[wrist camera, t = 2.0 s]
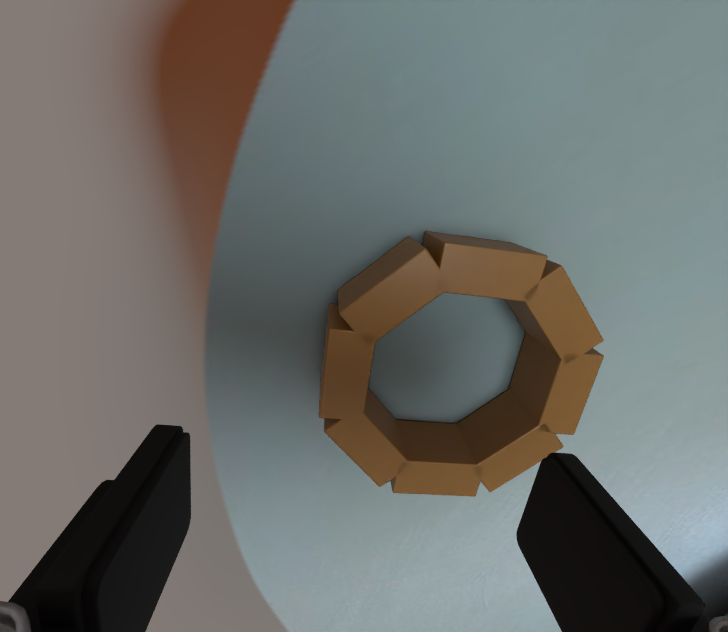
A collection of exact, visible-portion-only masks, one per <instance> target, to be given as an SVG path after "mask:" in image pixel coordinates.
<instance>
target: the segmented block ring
mask: <svg viewBox="0 0 728 632" xmlns="http://www.w3.org/2000/svg"><path fill="white" fill-rule="evenodd" d="M443 292H446V293H454V294H463V295H472V296H481V297H490V298H498V299H505V300H506V302H507V303H508V305H509V307H510V308H511V310H512V311H513V313H514V314H515V316H516V317H517V319H518V320H519V322H520V324H521V325H522V327H523V328H524V330H525V331H526V334H525V337H524V341H523V344H522V347H521V350H520V354H519V357H518V360H517V364H516V367H515V370H514V374H513V377H512V380H511V384H510V387H509V390H507V391H506V392H504V393H503V394H501V395H500V396H498V397H497V398H495V399H494V400H492V401H491V402H489V403H488V404H486V405H485V406H483V407H481V408H480V409H478V410H477V411H475V412H474V413H472V414H471V415H469V416H468V417H466V418H465V419H463V420H462V421H460V422H459V423H457V424H448V423H433V422H419V421H404V420H396V419H395V418H394V417H393V416H392V415H391V413H390V412H389V411H388V410H387V409H386V408H385V407H384V406H383V404H382V403H381V402H380V401H379V400H378V399H377V398H376V397H375V395H374V394H373V393H372V392H371V391H370V390H369V389H368V384H369V378H370V372H371V366H372V360H373V354H374V347H375V342H376V341H377V340H378V339H380V338H381V337H382V336H384V335H385V334H387V333H388V332H389V331H391V330H392V329H393V328H395V327H396V326H398V325H399V324H400V323H402V322H403V321H405V320H406V319H407V318H409V317H410V316H411V315H413V314H414V313H416V312H417V311H418V310H420V309H421V308H422V307H424V306H425V305H427V304H428V303H429V302H431V301H432V300H434V299H435V298H436V297H438V296H439V295H440V294H442V293H443ZM602 341H603V338H602V336H601V334H600V333H599V331H598V329H597V327H596V326H595V324H594V322H593V320H592V318H591V317H590V315H589V313H588V311H587V309H586V308H585V306H584V304H583V302H582V301H581V299H580V297H579V295H578V293H577V292H576V290H575V288H574V286H573V284H572V283H571V281H570V279H569V277H568V275H567V274H566V272H565V270H564V268H563V267H562V265H559V264H557V263H554V262H551V261H549V260H547V255H544V254H541V253H538V252H536V251H533V250H530V249H527V248H525V247H522V246H519V245H516V244H514V243H511V242H504V241H496V240H489V239H481V238H474V237H466V236H459V235H451V234H444V233H436V232H429V231H425V234H424V239H423V244H422V245H421V244H419V243H418V242H417V241H415V240H414V239H413V238H411V237H410V236H409V237H407V238H406V239H404V240H403V241H402V242H400V243H399V244H398V245H396V246H395V247H394V248H392V249H391V250H390V251H388V252H387V253H386V254H385V255H383V256H382V257H381V258H379V259H378V260H377V261H375V262H374V263H373V264H371V265H370V266H369V267H367V268H366V269H365V270H364V271H362V272H361V273H360V274H358V275H357V276H356V277H354V278H353V279H352V280H350V281H349V282H348V283H347V284H345V285H344V286H343V287H341V288H340V289H339V290H338V305H334V304H329V309H328V318H327V327H326V335H325V344H324V353H323V362H322V371H321V379H320V400H319V418H324V432H325V433H326V434H327V435H328V436H329V437H330V438H331V439H332V440H333V441H334V442H335V443H336V444H337V445H338V446H339V447H340V448H341V449H342V450H343V451H344V452H345V453H346V454H347V455H348V456H349V457H350V458H351V459H352V460H353V461H354V462H355V463H356V464H357V465H358V466H359V467H360V468H361V469H362V470H363V471H364V472H365V473H366V474H367V475H368V476H369V477H370V478H371V479H372V480H373V481H374V482H375V483H376V484H377V485H378V486H379V487H381V486H382V485H384V484H385V483H387V482H388V481H391V486H392V491H393V493H410V494H432V495H455V496H476V493H477V490H478V486H479V483H480V481H481V482H482V484H483V485H484V486H485V487H486V488H487V489H488V491H489V492H492V491H493V490H495V489H496V488H498V487H500V486H501V485H503V484H504V483H506V482H508V481H509V480H511V479H513V478H514V477H516V476H517V475H519V474H521V473H522V472H524V471H525V470H527V469H529V468H530V467H532V466H534V465H535V464H537V463H538V462H540V461H542V459H544V458H546V457H547V456H548V455H549V454H550V453H554V452H556V451H558V450H559V449H561V448H563V445H562V443H561V442H560V440H559V439H558V437H557V436H556V434H568V435H573V434H574V433H575V430H576V428H577V425H578V422H579V420H580V417H581V415H582V412H583V409H584V407H585V404H586V402H587V399H588V396H589V394H590V391H591V389H592V386H593V383H594V381H595V378H596V376H597V373H598V370H599V368H600V365H601V363H602V360H603V357H604V356H603V355H602V354H601V353H599V352H597V351H596V350H594V349H593V347H595V346H596V345H598V344H599V343H601V342H602Z"/></svg>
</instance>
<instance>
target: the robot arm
mask: <svg viewBox="0 0 728 632" xmlns="http://www.w3.org/2000/svg"><path fill="white" fill-rule="evenodd" d="M190 519H191V486H190V435H189V433H184V432H183V429H182V427H181V426H172V425H156V426H155V427H154V428H153V429H152V430H151V431H150V433H149V434H148V435H147V437H146V438H145V440H144V441H143V442H142V444H141V445H140V446H139V448H138V449H137V450H136V452H135V453H134V454H133V456H132V457H131V458H130V460H129V461H128V462H127V464H126V465H125V467H124V468H123V469H122V470H121V472H120V473H119V475H118V476H117V478H116V479H115V480H106V481H104V482H102V483H101V484H100V485H99V486H98V487H97V488H96V490H95V491H94V492H93V493H92V495H91V496H90V497H89V499H88V500H87V501H86V502H85V504H84V505H83V506H82V508H81V509H80V510H79V511H78V513H77V514H76V515H75V517H74V518H73V519H72V521H71V522H70V523H69V524H68V526H67V527H66V528H65V530H64V531H63V532H62V533H61V535H60V536H59V537H58V538H57V540H56V541H55V542H54V544H53V545H52V546H51V547H50V549H49V550H48V551H47V552H46V554H45V555H44V556H43V558H42V559H41V560H40V562H39V563H38V564H37V565H36V567H35V568H34V569H33V570H32V572H31V573H30V574H29V576H28V577H27V578H26V579H25V581H24V582H23V583H22V585H21V586H20V587H19V588H18V590H17V591H16V592H15V594H14V595H13V596H12V597H11V599H10V600H9V601H8V602H2V601H1V602H0V632H145V631H146V629H147V626H148V624H149V622H150V619H151V617H152V614H153V612H154V610H155V607H156V605H157V603H158V600H159V598H160V595H161V593H162V591H163V588H164V586H165V583H166V581H167V579H168V577H169V574H170V572H171V569H172V567H173V565H174V562H175V560H176V558H177V555H178V553H179V550H180V548H181V546H182V543H183V541H184V539H185V536H186V534H187V531H188V528H189V524H190ZM517 542H518V545H519V547H520V549H521V551H522V553H523V555H524V557H525V559H526V561H527V563H528V565H529V567H530V569H531V571H532V573H533V575H534V577H535V579H536V581H537V583H538V585H539V587H540V589H541V591H542V593H543V595H544V597H545V599H546V601H547V603H548V605H549V607H550V609H551V611H552V613H553V615H554V617H555V619H556V621H557V623H558V625H559V627H560V629H561V631H562V632H728V617H725V616H721V617H714V618H713V619H712V620H711V621H710V622H709V621H708V620H707V619H706V618H705V616H704V615H703V614H702V612H703V611H704V609H705V607H706V606H707V605H706V604H705V603H704V602H703V600H702V599H701V598H700V597H699V596H698V595H697V594H696V592H695V591H694V590H693V589H692V588H691V587H690V586H689V584H688V583H687V582H686V581H685V580H684V579H683V578H682V577H681V575H680V574H679V573H678V572H677V571H676V570H675V569H674V567H673V566H672V565H671V564H670V563H669V562H668V561H667V559H666V558H665V557H664V556H663V555H662V554H661V553H660V551H659V550H658V549H657V548H656V547H655V546H654V545H653V543H652V542H651V541H650V540H649V539H648V538H647V537H646V535H645V534H644V533H643V532H642V531H641V530H640V529H639V528H638V526H637V525H636V524H635V523H634V522H633V521H632V520H631V518H630V517H629V516H628V515H627V514H626V513H625V512H624V510H623V509H622V508H621V507H620V506H619V505H618V504H617V502H616V501H615V500H614V499H613V498H612V497H611V496H610V494H609V493H608V492H607V491H606V490H605V489H604V488H603V486H602V485H601V484H600V483H599V482H598V481H597V480H596V478H595V477H594V476H593V475H592V474H591V473H590V472H589V471H588V469H587V468H586V467H585V466H584V465H583V464H582V463H581V461H580V460H579V459H578V458H577V457H576V456H575V455H573V454H566V453H550V454H549V455H548V456H547V458H544V459H542V461H541V464H540V467H539V470H538V472H537V475H536V478H535V481H534V484H533V487H532V490H531V492H530V495H529V498H528V501H527V504H526V507H525V509H524V512H523V515H522V518H521V521H520V524H519V527H518V529H517Z"/></svg>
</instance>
